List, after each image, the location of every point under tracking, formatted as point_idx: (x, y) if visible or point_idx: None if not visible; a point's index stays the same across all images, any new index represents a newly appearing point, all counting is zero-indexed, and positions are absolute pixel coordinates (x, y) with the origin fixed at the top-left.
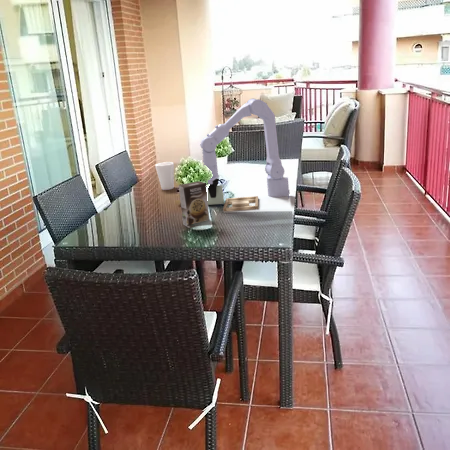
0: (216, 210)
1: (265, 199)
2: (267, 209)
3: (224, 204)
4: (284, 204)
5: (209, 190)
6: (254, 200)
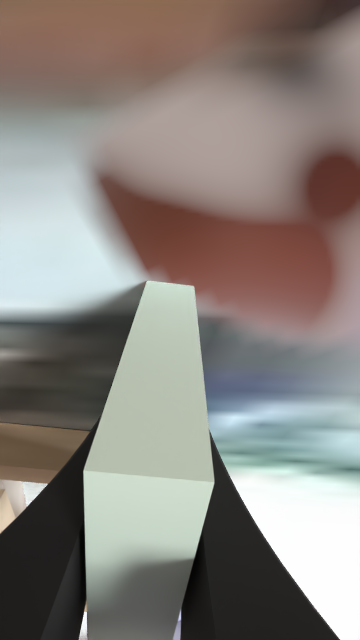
0: (33, 369)
1: None
2: None
3: (3, 465)
4: (80, 630)
5: (41, 506)
6: None
